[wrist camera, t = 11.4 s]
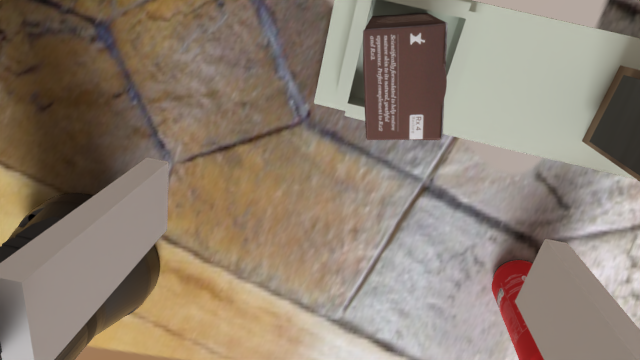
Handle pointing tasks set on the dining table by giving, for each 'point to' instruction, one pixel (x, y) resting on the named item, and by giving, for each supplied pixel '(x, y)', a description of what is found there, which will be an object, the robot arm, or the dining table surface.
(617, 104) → the brown tall rectangular block
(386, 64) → the box
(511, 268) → the beverage can
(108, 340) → the dining table surface
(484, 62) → the pale green holder tray
